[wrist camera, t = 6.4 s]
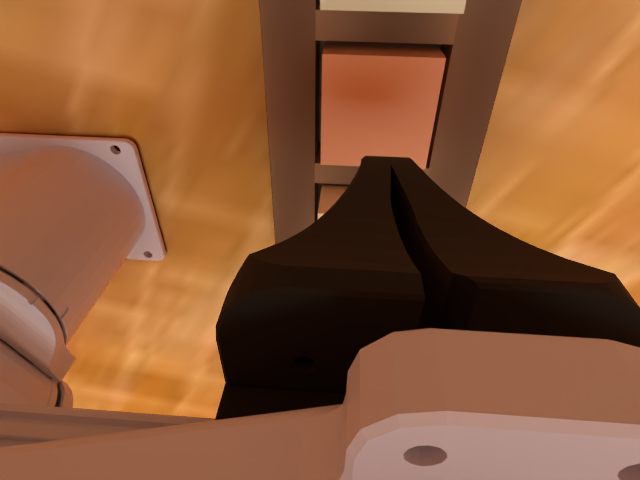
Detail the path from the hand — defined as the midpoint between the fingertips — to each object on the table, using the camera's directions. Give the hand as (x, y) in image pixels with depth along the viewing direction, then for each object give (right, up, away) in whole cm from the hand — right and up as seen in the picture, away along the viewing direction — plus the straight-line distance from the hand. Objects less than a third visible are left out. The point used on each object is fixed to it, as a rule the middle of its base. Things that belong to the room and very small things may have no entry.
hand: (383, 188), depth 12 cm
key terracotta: (+1, +5, +6) cm, 8 cm away
